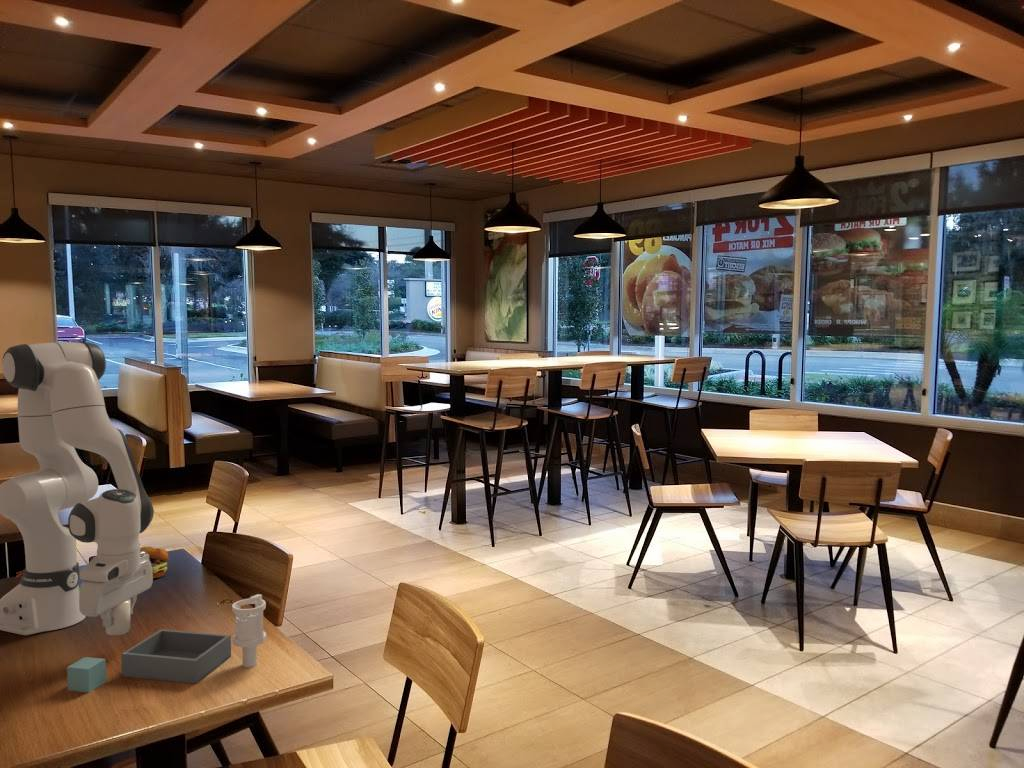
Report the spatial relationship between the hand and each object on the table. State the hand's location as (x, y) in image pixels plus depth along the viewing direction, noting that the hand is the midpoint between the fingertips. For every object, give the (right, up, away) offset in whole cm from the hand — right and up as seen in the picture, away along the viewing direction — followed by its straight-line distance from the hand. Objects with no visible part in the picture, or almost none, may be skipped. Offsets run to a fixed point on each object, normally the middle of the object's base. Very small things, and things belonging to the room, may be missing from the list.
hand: (118, 620), depth 176 cm
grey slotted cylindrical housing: (+32, -9, -4) cm, 33 cm away
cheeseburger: (-19, -4, +55) cm, 58 cm away
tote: (+16, -8, -6) cm, 19 cm away
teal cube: (+1, -9, -15) cm, 18 cm away
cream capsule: (0, -2, 0) cm, 2 cm away
